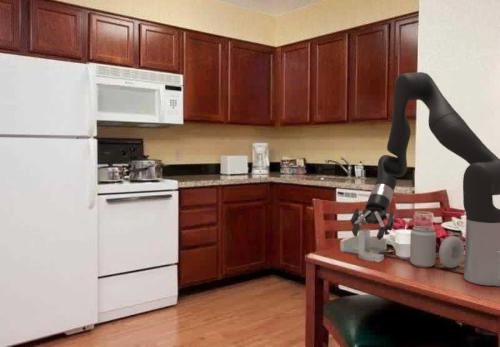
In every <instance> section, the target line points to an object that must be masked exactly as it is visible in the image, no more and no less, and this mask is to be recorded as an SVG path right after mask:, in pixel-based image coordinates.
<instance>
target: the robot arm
mask: <svg viewBox="0 0 500 347" xmlns="http://www.w3.org/2000/svg"><path fill="white" fill-rule="evenodd" d="M393 89H394V90H393V101H392V103H393V104H392V119H391V126H390V132H389V137H388V140H387V146H386V149H387V151H388V152H389V153H390V154H392V155H394V156H392V155H388V154H382V156H380V157H379V159H378V162H377V177H376V180H375V184H374V186H373V188H372V189H371V192H370V194H369V197H368V199H367V202H366V205H365V208H364V210H360V208H356V209H355V210H354V212H353V214H352V216H351V218H350V223H351V225H352V226H353V227H352V230H351V232H352V235H354V236H357V235H359V231H360V230H361V229H360V228H361V227H362V226H365V225H366V224H370V225H371V224H374V225H377V224H379V226H380V227H379V228H378V231H377V234H376V237H377V238H378V240H381V238H384V236H385V232H386V231H392V230H393V227H394V224H395V218H396V217H395V214H394V212H393V211H391V212H389V213H388V211H389V208H390V205H391V202H392V201H393V195H394V194H393V193H394V191H395V188H396V185H397V179H396V177H397V178H402V177H403V176H404V175H405V174H406V173H407V170H408V162H407V150H408V147H409V142H410V138H411V131H412V130H411V126H410V123H409V120H408V117H407V112H406V109H407V107H408V106H407V105H408V102H409V101H421V102H422V103H423V104H424V105H425V106H426V108H427V109H428V111H429V112H428V128H429V129H430V132H431V133H432V134H433V136H434V137H435V139H436V140H437V141H438V142H439V144H440V145H442V146H443V147H444V148H446V150H448V151H450V152H451V153H453V154H455V155H456V156H458V157H460V158H461V159H463V160H464V161H465V162H467V163H468V164H469V165H468V166H467V167H466V168H465V170H464V173H463V178H462V196H463V197H462V198H463V199H462V200H463V201H462V202H463V208H464V209H463V210H464V211H465V240H464V243H465V245H464V246H465V247H464V267H463V268H464V270H463V273H464V275H463V279H464V280H465V281H466V282H469V283H472V284H477V285H481V286H490V287H491V286H494V287H500V208H498V207H496V206H495V205H494V200H493V199H494V197H493V196H500V158H499V157H498V156H497V155H496V154H495V153H494V152H492V151H491V150H490V149H489V148H488V147H487V146H486V144H484V142H483V141H482V140H481V139H480V138H479V136H477V135H476V133H475V132H474V131H473V130H472V129H471V127H470V126H469V125H468V123H467V122H466V121H465V120H464V118H462V116H461V115H460V114H459V113H458V112H457V111H456V110H455V109H454V107H453V106H452V105H451V104H450V102H449V101H448V100H447V98H446V97H445V96H444V95H443V94H442V92H441V90H440V88H439V87H438V86H437V84H436V82H435V81H434V79H433V78H432V77H431V75H430V74H428V73H427V72H423V71H422V72H421V71H417V72H416V71H415V72H405V73H402V74H400V75H398V76H397V78H396V80H395V84H394V88H393ZM386 218H387V222H386V224H385V223H384V220H385V219H386Z"/></svg>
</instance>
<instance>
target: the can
mask: <svg viewBox="0 0 500 347" xmlns="http://www.w3.org/2000/svg"><path fill="white" fill-rule="evenodd" d="M409 242H410V248H409V249H410V251H409V262H410V263H411V264H412V265H413V266H414V267H418V268H432V267H433V266H435V265H436V256H437V255H436V253H437V252H436V250H437V249H436V248H437V233H436V232H435V229H434V227H430V226H424V225H423V226H422V225H419V226H417V225H416V226H413V227H412V230H410V241H409Z"/></svg>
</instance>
